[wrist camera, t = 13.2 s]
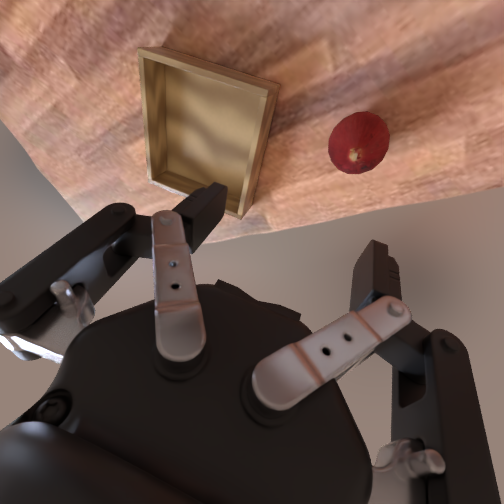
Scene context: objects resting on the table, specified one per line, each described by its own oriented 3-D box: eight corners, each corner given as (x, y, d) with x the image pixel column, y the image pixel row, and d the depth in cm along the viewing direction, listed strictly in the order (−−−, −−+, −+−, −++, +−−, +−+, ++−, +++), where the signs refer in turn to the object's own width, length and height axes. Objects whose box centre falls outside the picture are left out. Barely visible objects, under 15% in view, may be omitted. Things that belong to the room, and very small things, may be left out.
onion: (394, 147, 29) (398, 175, 23) (343, 168, 32) (335, 196, 26) (379, 94, 27) (380, 109, 21) (325, 122, 30) (312, 142, 24)
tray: (161, 46, 31) (136, 47, 28) (280, 84, 29) (268, 90, 26) (164, 171, 42) (148, 182, 39) (251, 205, 40) (241, 219, 37)
